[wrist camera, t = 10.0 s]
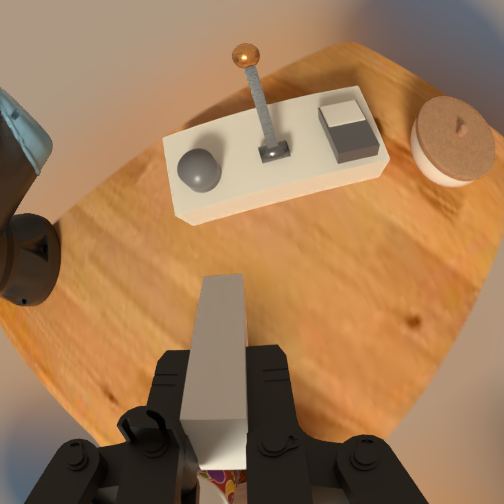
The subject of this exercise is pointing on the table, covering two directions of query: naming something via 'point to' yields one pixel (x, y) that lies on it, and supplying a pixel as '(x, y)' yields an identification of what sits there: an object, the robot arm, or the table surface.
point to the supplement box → (240, 494)
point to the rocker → (348, 131)
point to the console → (271, 173)
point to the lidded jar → (451, 142)
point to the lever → (260, 103)
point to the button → (199, 170)
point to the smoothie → (217, 485)
